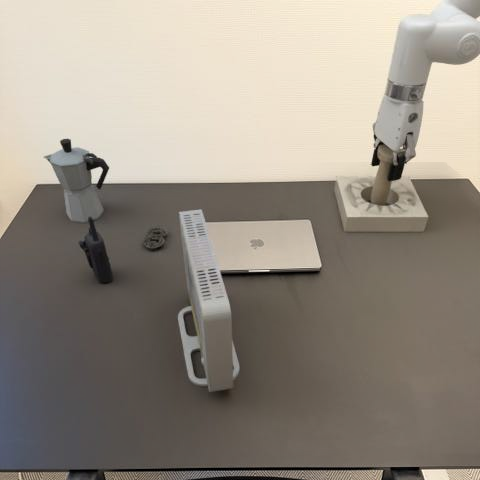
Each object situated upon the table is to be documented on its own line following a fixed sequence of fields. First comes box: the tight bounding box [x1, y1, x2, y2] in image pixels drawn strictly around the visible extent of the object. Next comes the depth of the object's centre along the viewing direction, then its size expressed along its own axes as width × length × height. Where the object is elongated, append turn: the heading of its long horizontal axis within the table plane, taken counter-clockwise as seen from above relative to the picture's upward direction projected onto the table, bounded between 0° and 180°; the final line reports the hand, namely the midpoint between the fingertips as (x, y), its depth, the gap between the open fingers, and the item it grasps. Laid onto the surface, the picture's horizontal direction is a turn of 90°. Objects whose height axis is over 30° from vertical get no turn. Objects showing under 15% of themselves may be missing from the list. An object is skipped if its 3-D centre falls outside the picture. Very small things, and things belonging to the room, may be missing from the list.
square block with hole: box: [333, 175, 429, 233], centre depth 112 cm, size 18×18×4 cm
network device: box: [177, 209, 240, 393], centre depth 76 cm, size 26×9×20 cm, turn 12°
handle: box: [370, 144, 402, 206], centre depth 108 cm, size 5×6×15 cm
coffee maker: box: [43, 138, 110, 224], centre depth 106 cm, size 15×9×18 cm, turn 80°
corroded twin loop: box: [141, 225, 168, 251], centre depth 104 cm, size 5×8×1 cm, turn 175°
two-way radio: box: [78, 216, 114, 284], centre depth 91 cm, size 6×4×15 cm
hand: (385, 171), depth 106 cm, fingers closed on handle, 6 cm apart
